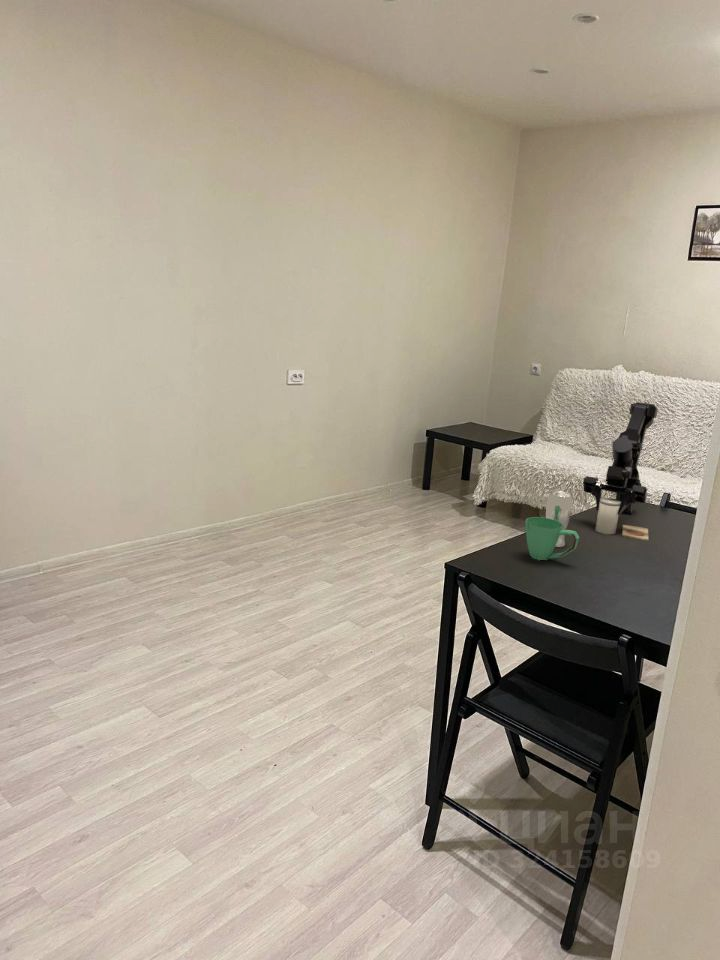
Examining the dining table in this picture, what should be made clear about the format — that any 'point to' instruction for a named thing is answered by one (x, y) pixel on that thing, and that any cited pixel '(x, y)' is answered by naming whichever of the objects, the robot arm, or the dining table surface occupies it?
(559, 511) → the beer glass
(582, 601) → the dining table surface
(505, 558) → the dining table surface
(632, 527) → the mat
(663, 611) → the dining table surface
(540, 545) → the mug
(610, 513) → the white lidded jar
